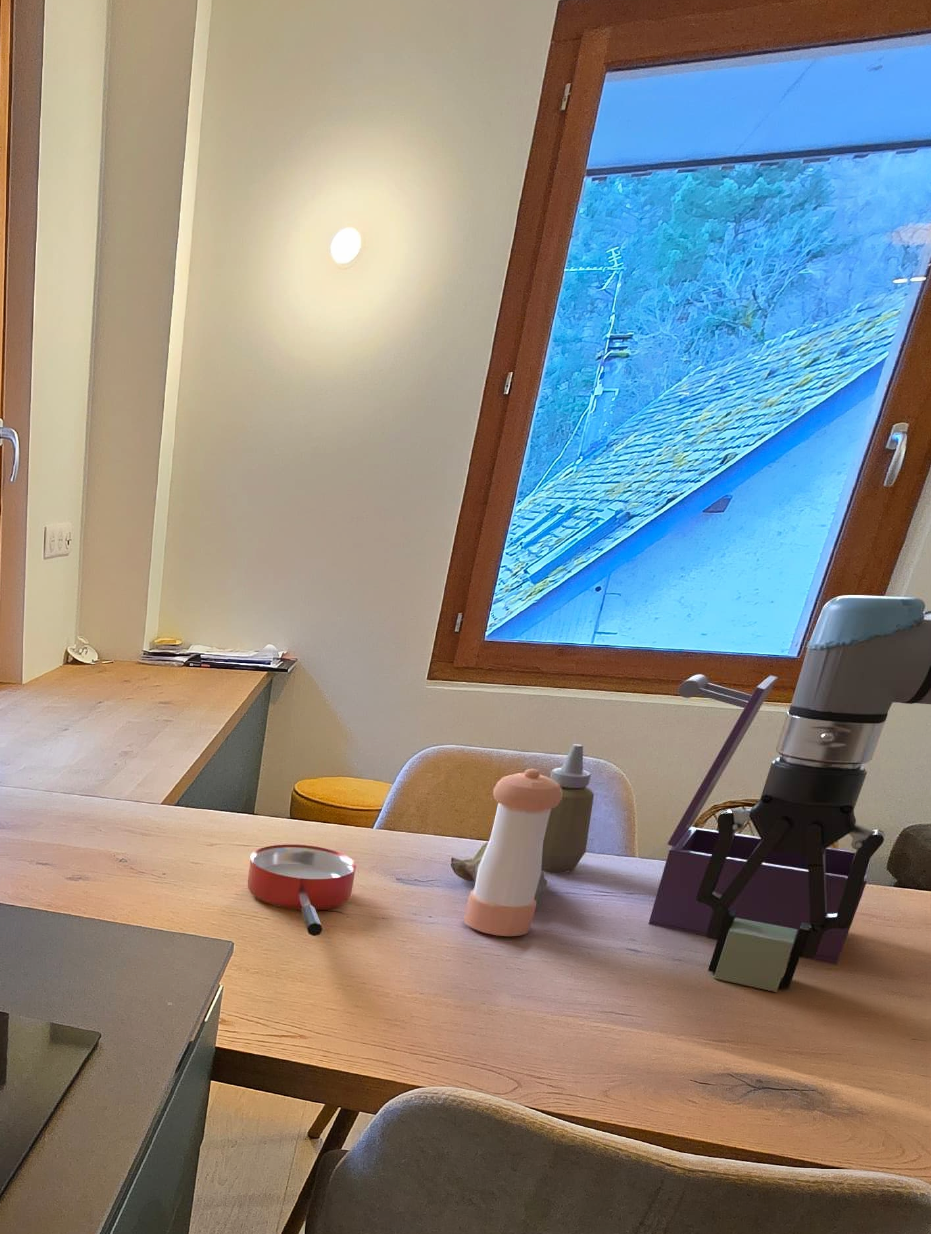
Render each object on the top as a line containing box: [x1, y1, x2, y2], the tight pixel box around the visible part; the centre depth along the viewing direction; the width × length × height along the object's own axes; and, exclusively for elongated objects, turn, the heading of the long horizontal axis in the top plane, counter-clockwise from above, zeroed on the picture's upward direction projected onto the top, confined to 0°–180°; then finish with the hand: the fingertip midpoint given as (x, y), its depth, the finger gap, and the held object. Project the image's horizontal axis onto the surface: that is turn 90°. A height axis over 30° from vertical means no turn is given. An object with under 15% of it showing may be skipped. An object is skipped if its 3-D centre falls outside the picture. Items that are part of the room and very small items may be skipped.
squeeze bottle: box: [541, 743, 595, 874], centre depth 143 cm, size 8×8×18 cm
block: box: [713, 918, 798, 993], centre depth 112 cm, size 6×6×6 cm
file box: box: [647, 826, 872, 966], centre depth 124 cm, size 18×14×10 cm
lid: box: [667, 674, 778, 847], centre depth 124 cm, size 19×14×8 cm
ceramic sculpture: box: [450, 841, 548, 902], centre depth 135 cm, size 11×9×15 cm
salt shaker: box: [463, 768, 562, 937], centre depth 123 cm, size 7×7×19 cm
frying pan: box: [247, 844, 357, 937], centre depth 128 cm, size 32×13×6 cm, turn 171°
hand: (749, 975), depth 112 cm, fingers closed on block, 6 cm apart
